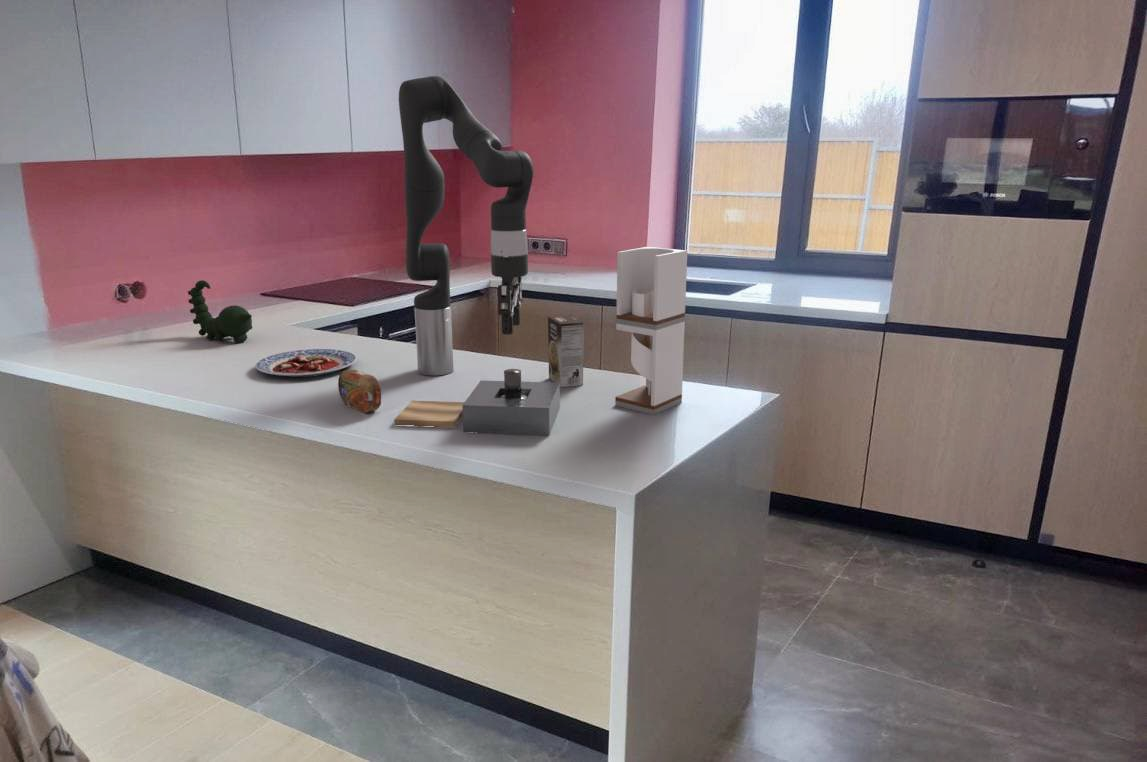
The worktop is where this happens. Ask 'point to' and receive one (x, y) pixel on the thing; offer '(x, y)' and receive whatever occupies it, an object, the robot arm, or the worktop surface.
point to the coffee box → (565, 350)
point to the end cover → (513, 384)
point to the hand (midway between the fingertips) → (511, 329)
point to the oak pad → (431, 414)
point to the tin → (359, 390)
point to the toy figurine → (219, 318)
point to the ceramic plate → (306, 362)
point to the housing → (512, 409)
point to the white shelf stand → (653, 323)
